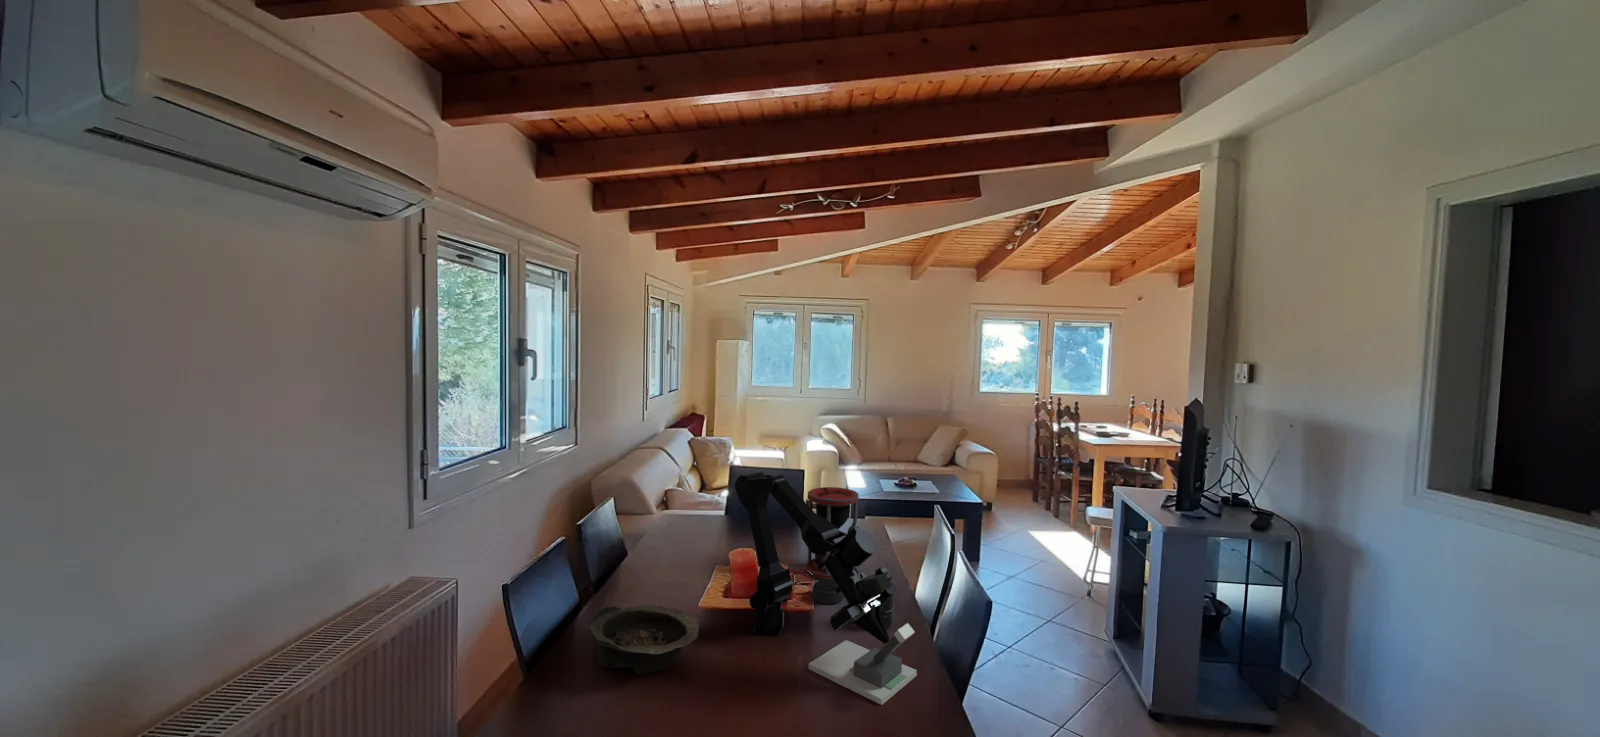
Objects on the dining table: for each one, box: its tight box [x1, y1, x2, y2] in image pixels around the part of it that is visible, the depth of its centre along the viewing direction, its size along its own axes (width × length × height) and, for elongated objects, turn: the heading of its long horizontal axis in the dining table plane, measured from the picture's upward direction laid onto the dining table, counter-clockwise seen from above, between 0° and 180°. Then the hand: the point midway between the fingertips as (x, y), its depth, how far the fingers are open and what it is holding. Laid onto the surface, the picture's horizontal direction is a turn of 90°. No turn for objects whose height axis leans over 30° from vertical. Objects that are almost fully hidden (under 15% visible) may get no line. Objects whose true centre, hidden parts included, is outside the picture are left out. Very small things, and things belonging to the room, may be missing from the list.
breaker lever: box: [873, 622, 915, 664], centre depth 122 cm, size 2×4×10 cm
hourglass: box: [805, 486, 860, 580], centre depth 184 cm, size 16×16×25 cm
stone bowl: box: [583, 604, 700, 675], centre depth 132 cm, size 25×25×9 cm
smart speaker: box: [812, 579, 845, 605], centre depth 164 cm, size 9×9×4 cm
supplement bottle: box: [883, 579, 895, 629], centre depth 150 cm, size 7×7×12 cm
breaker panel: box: [808, 640, 918, 706], centre depth 127 cm, size 19×14×4 cm
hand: (887, 642), depth 123 cm, fingers closed
